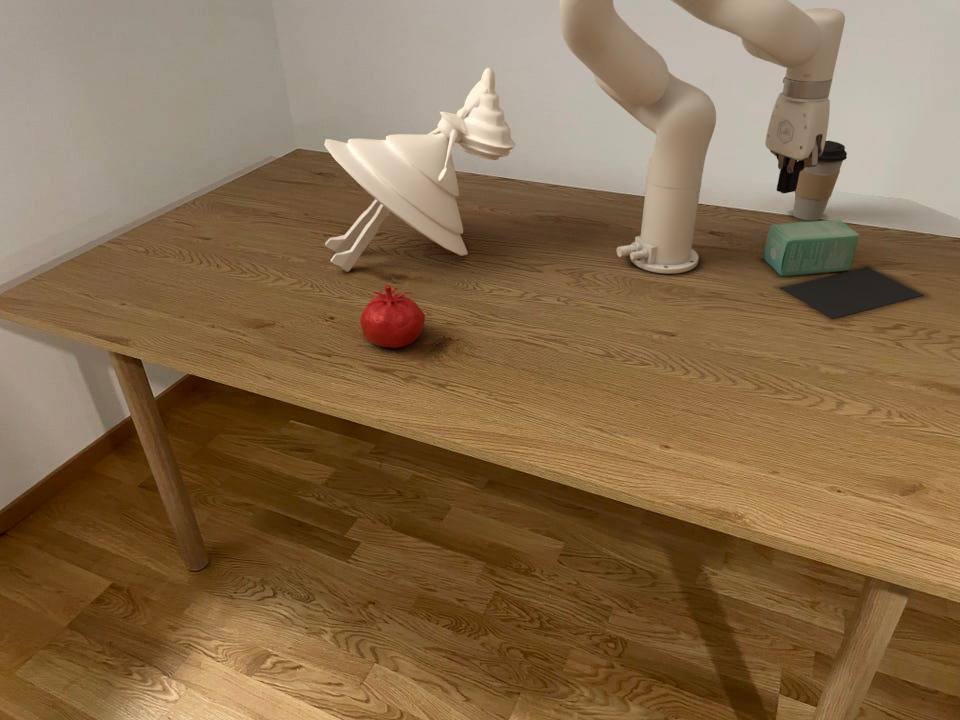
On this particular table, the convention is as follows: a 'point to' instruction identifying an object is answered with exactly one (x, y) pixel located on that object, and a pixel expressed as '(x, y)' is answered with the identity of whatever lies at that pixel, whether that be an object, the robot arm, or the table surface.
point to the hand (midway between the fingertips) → (786, 190)
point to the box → (810, 247)
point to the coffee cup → (818, 183)
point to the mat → (851, 292)
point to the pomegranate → (392, 319)
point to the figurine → (420, 173)
